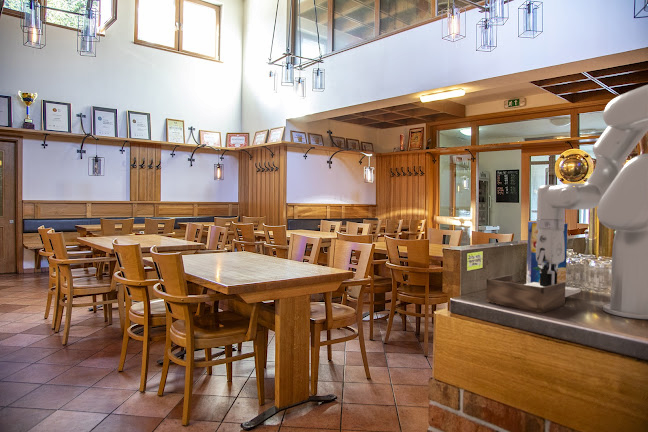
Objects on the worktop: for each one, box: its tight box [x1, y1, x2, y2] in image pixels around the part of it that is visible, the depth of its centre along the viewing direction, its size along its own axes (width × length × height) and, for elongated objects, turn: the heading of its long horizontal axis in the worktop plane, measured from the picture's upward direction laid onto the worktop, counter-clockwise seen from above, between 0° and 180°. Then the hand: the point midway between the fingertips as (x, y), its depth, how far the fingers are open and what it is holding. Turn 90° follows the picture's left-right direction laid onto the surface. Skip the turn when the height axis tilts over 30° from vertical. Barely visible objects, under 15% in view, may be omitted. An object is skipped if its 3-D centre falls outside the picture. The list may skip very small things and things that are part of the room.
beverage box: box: [525, 221, 568, 287], centre depth 156 cm, size 7×11×22 cm, turn 77°
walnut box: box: [485, 274, 567, 313], centre depth 129 cm, size 16×14×6 cm
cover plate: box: [523, 271, 581, 298], centre depth 139 cm, size 14×12×6 cm
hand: (548, 285), depth 139 cm, fingers closed on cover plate, 3 cm apart
